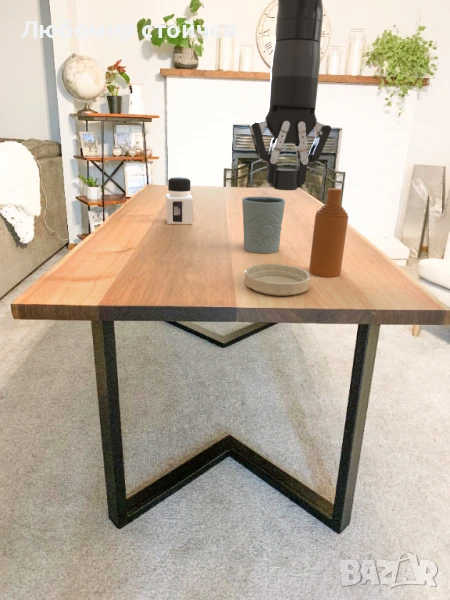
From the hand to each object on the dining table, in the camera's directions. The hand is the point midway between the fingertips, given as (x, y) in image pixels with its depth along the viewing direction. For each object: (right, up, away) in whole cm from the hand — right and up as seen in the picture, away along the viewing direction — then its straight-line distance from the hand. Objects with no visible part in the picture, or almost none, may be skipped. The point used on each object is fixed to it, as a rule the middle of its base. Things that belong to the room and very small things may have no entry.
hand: (285, 186), depth 76 cm
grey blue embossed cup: (-2, -7, +32) cm, 33 cm away
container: (-24, +4, +59) cm, 64 cm away
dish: (-1, -17, +7) cm, 18 cm away
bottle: (+10, -14, +16) cm, 23 cm away
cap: (0, 0, 0) cm, 0 cm away
